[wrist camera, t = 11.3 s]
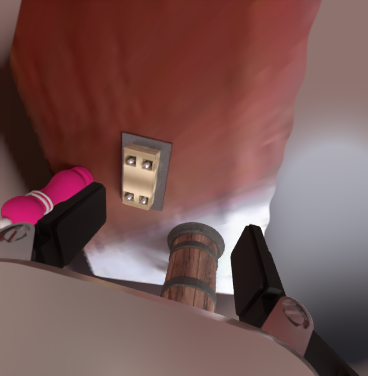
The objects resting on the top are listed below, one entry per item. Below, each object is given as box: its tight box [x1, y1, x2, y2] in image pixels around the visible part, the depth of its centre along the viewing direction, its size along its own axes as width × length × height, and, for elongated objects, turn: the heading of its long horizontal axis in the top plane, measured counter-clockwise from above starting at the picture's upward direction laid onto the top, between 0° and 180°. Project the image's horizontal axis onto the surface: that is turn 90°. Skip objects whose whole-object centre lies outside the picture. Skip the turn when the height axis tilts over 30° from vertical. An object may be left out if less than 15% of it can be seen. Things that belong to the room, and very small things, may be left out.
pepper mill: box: [0, 166, 94, 229], centre depth 36 cm, size 7×7×20 cm
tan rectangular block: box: [123, 144, 160, 210], centre depth 39 cm, size 14×7×4 cm, turn 169°
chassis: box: [122, 132, 173, 211], centre depth 39 cm, size 18×11×6 cm, turn 169°
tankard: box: [160, 222, 225, 313], centre depth 43 cm, size 24×17×20 cm
